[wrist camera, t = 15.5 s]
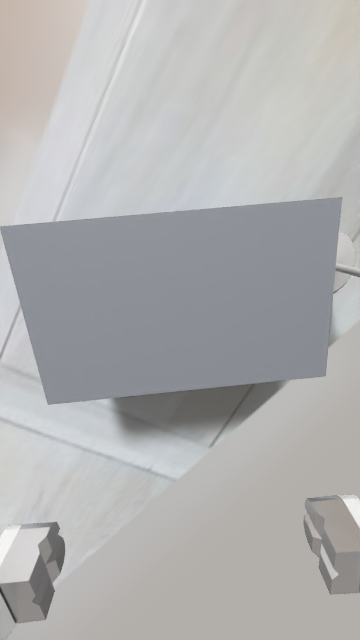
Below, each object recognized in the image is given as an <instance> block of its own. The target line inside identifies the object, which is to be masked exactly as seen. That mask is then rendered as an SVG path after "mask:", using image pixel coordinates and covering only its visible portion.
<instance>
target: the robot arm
mask: <svg viewBox="0 0 360 640" xmlns="http://www.w3.org/2000/svg"><path fill="white" fill-rule="evenodd" d="M305 508H306V510H307V513H306V515H305V516H304V529H305V534H306V537H307V540H308V543H309V545H310V548H311V550H312V551H313V552H314V553H315V554H316V555H317V556H318V557H319V558H320V561H319V569H320V571H321V574H322V576H323V579H324V581H325V583H326V586H327V588H328V590H329V593H330V594H347V593H360V500H359V499H358V497H357V496H355V495H354V494H348V495H340V496H337V495H333V496H325V497H315V498H307V499H306V501H305ZM59 529H60V528H59V525H58V523H57V522H47V523H33V524H19V525H9V526H8V527H7V528H6V529H5V530H4V531H3V533H2V535H1V536H0V640H6V639H7V638H8V637H9V635H10V634H11V633H12V631H13V630H14V628H15V627H16V623H25V622H32V621H40V620H46V617H47V614H48V611H49V607H50V604H51V601H52V598H53V595H54V592H55V591H54V587H53V582H54V580H55V579H56V578H57V577H58V576H59V575H60V573H61V570H62V566H63V563H64V556H65V543H64V540H63V538H62V537H61V536H59V535H58V532H59Z"/></svg>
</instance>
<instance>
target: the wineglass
mask: <svg viewBox="0 0 360 640" xmlns="http://www.w3.org/2000/svg"><path fill="white" fill-rule="evenodd" d="M355 262H356V252H355V248H354V245H353V243H352V241H351V240H350V238H349V237H348V236H346V235H345V234H344V233H342V232H340V231H339V236H338V247H337V258H336V268H335V279H334V290H333V292H335V291H337V290H338V289H340V288H341V287H342V286H343V285H344V284H345V283H346V282H347V280H348V279H349V278H350V276H351V275H353V276H357V277H360V268H356V267H354V266H355Z"/></svg>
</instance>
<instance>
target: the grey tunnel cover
mask: <svg viewBox="0 0 360 640" xmlns="http://www.w3.org/2000/svg"><path fill="white" fill-rule="evenodd" d="M341 204H342V197H339V198H327V199H316V200H304V201H292V202H281V203H269V204H257V205H246V206H234V207H223V208H211V209H199V210H188V211H176V212H164V213H153V214H141V215H129V216H118V217H106V218H94V219H83V220H71V221H59V222H48V223H36V224H24V225H13V226H1V227H0V230H1V234H2V237H3V241H4V245H5V249H6V252H7V256H8V260H9V263H10V267H11V271H12V274H13V278H14V282H15V285H16V289H17V293H18V296H19V300H20V304H21V308H22V311H23V315H24V319H25V322H26V326H27V330H28V333H29V337H30V341H31V344H32V348H33V352H34V355H35V359H36V363H37V366H38V370H39V374H40V377H41V381H42V385H43V388H44V392H45V396H46V399H47V403H48V405H50V404H60V403H69V402H79V401H89V400H98V399H108V398H118V397H128V396H137V395H147V394H157V393H167V392H176V391H186V390H196V389H206V388H215V387H225V386H235V385H244V384H254V383H264V382H274V381H283V380H293V379H303V378H313V377H322V376H325V375H326V365H327V364H326V363H327V355H328V344H329V333H330V322H331V311H332V301H333V290H334V279H335V268H336V258H337V247H338V236H339V225H340V214H341Z"/></svg>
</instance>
